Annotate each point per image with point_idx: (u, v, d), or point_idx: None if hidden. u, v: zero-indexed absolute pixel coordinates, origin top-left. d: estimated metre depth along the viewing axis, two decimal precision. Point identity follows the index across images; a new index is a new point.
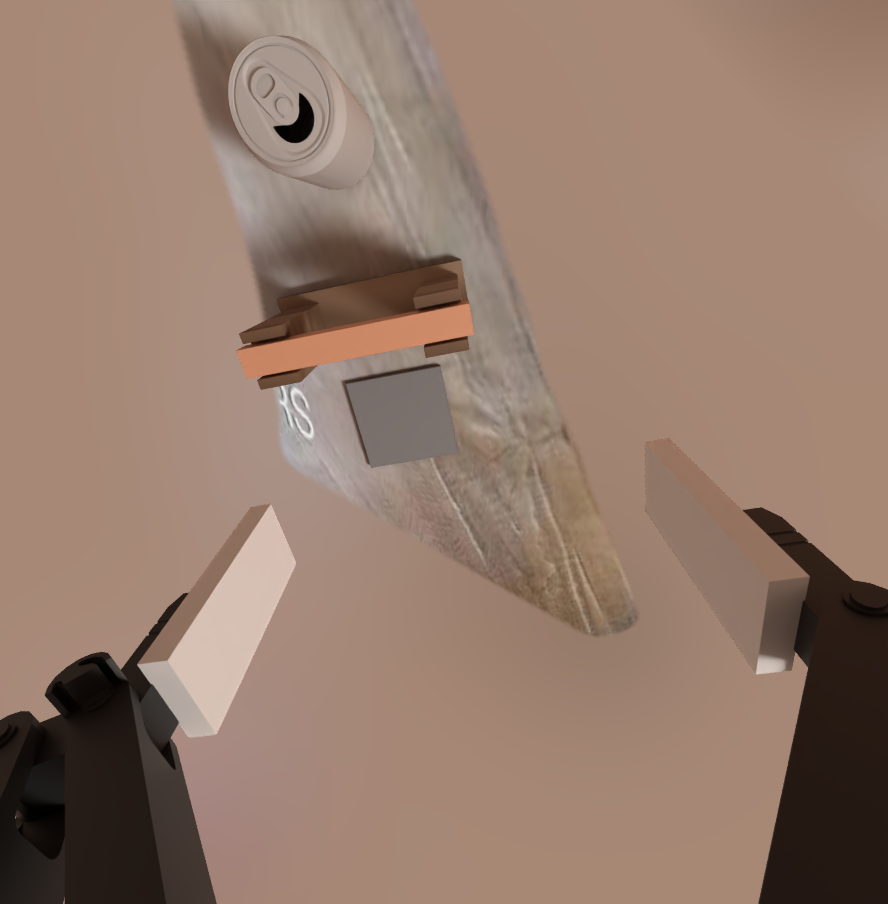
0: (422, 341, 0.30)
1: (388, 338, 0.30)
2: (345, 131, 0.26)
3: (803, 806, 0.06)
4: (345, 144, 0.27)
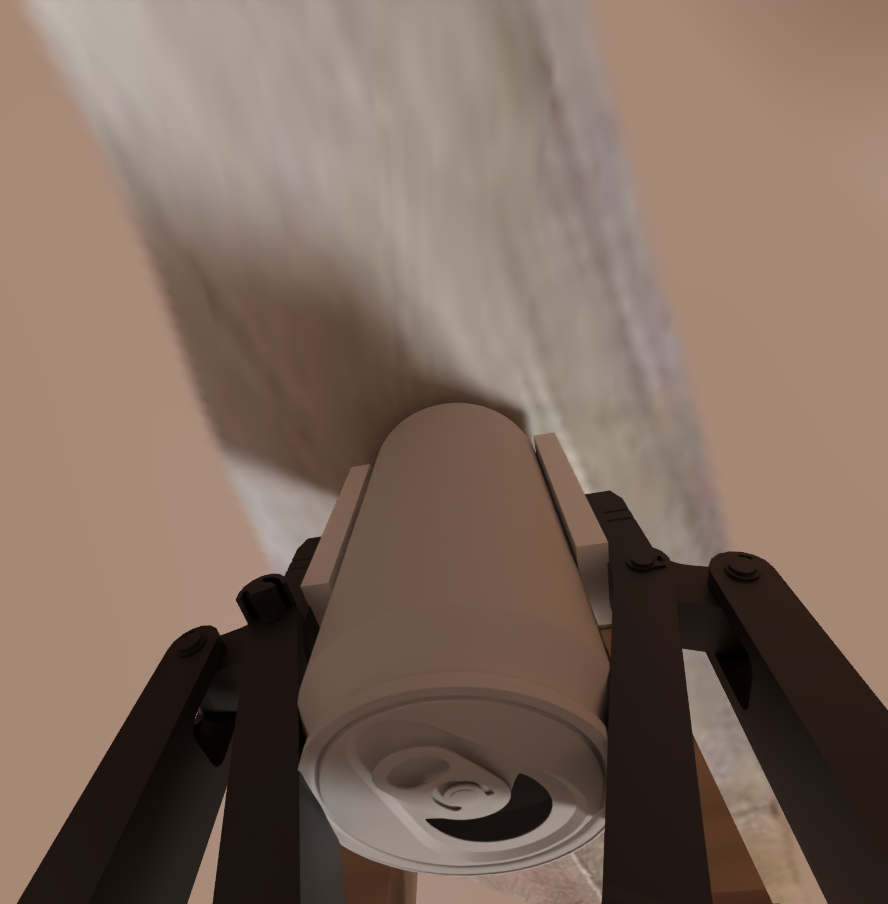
0: None
1: None
2: None
3: (623, 747, 0.07)
4: None
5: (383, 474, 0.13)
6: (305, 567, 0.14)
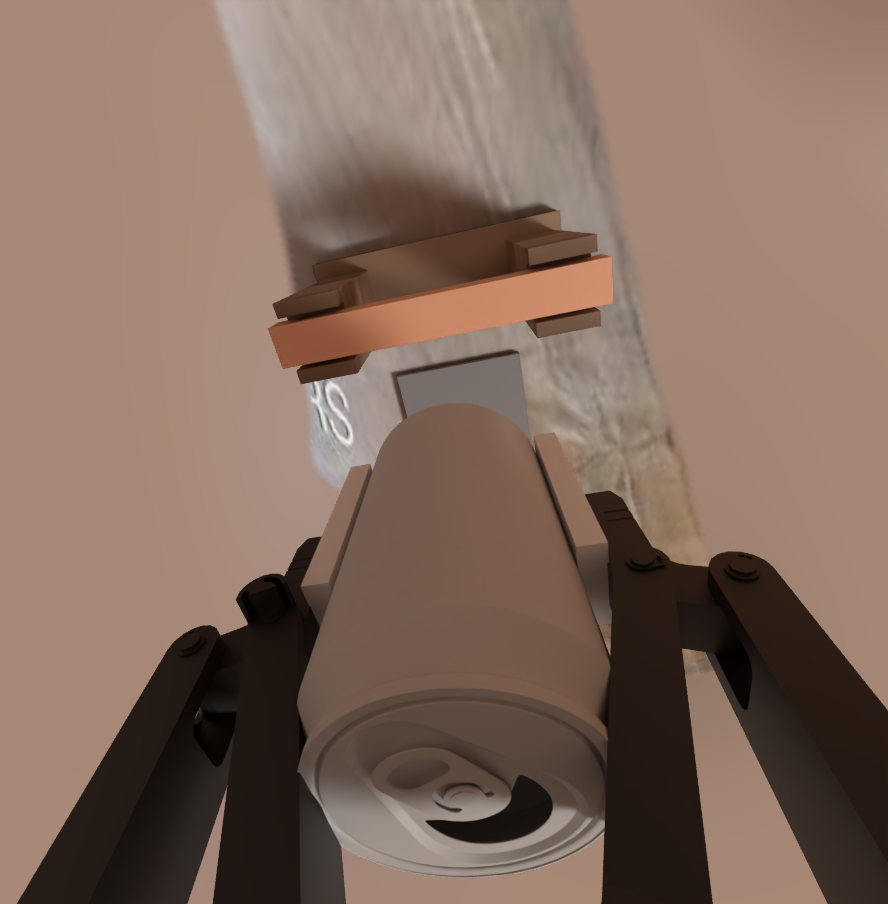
0: (536, 313, 0.21)
1: (488, 309, 0.21)
2: None
3: (623, 747, 0.07)
4: None
5: (383, 474, 0.13)
6: (305, 567, 0.14)
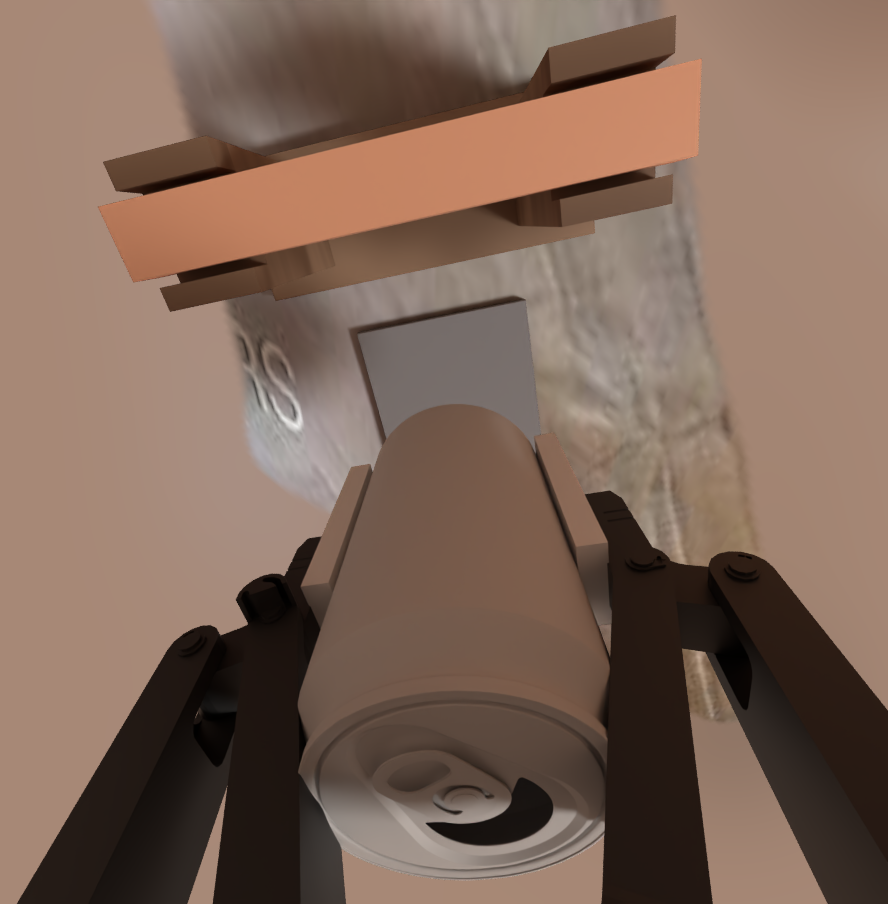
0: (562, 177, 0.12)
1: (476, 169, 0.12)
2: None
3: (623, 747, 0.07)
4: None
5: (383, 476, 0.13)
6: (305, 567, 0.14)
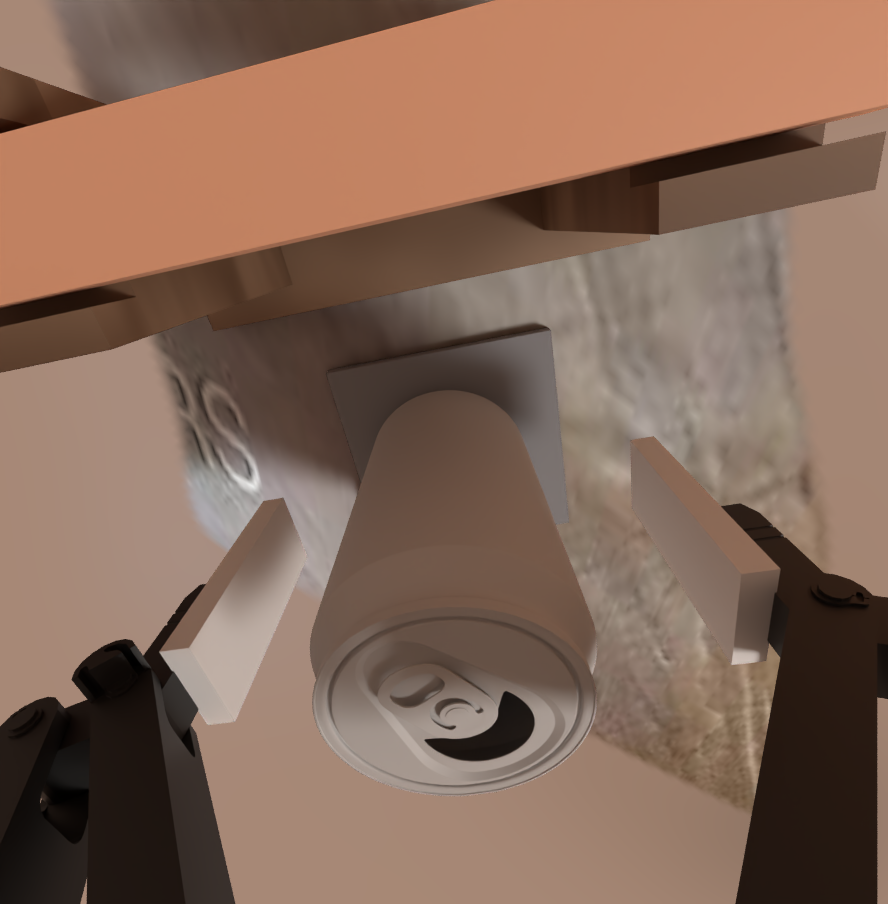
0: (672, 135, 0.06)
1: (501, 119, 0.06)
2: None
3: (778, 794, 0.06)
4: None
5: (381, 453, 0.15)
6: None
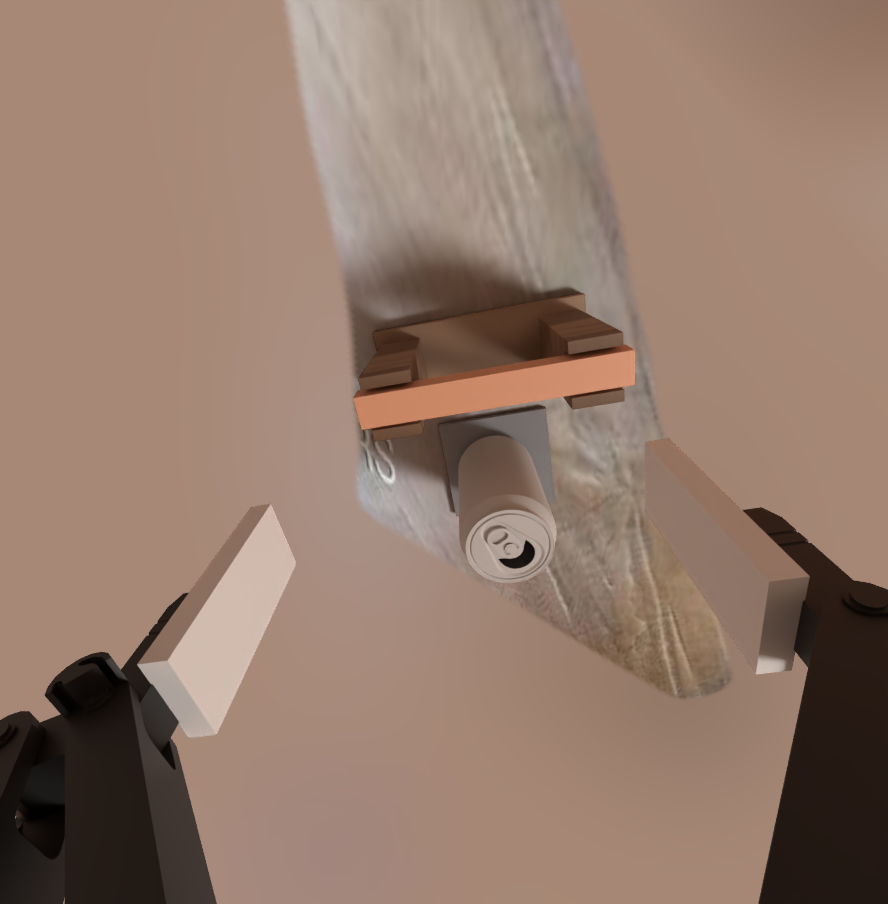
0: (573, 391, 0.26)
1: (533, 387, 0.26)
2: None
3: (803, 806, 0.06)
4: None
5: (472, 464, 0.35)
6: None
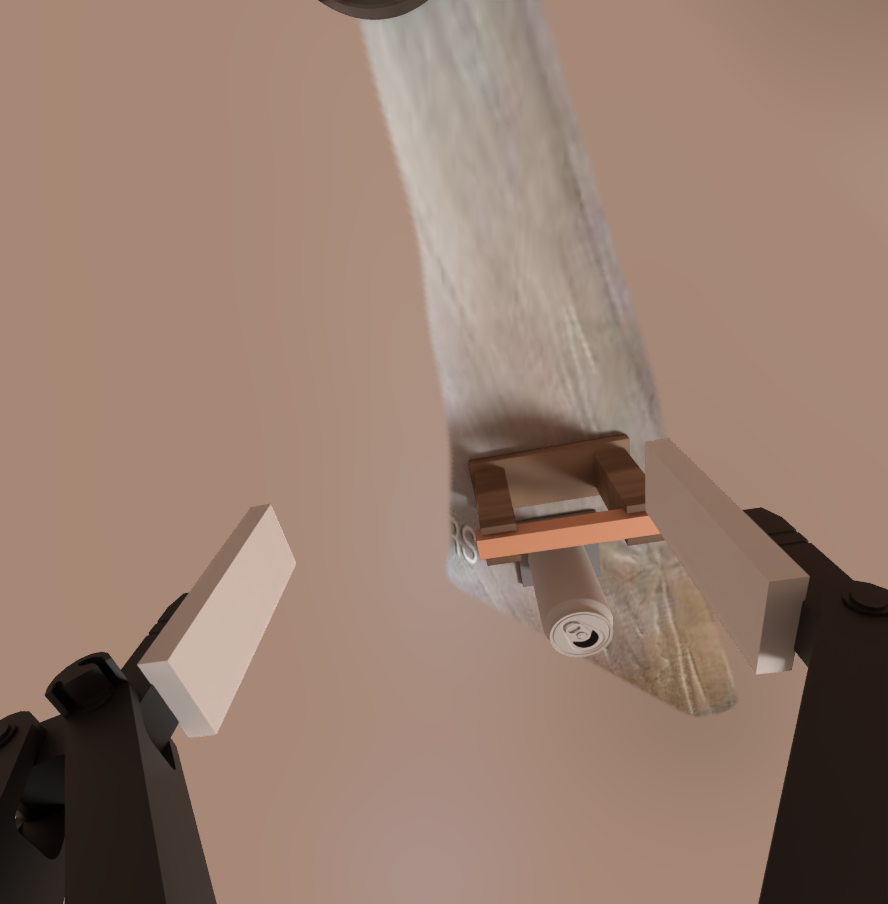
0: (629, 536, 0.38)
1: (602, 534, 0.38)
2: None
3: (803, 806, 0.06)
4: None
5: (544, 562, 0.47)
6: None
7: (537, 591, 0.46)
